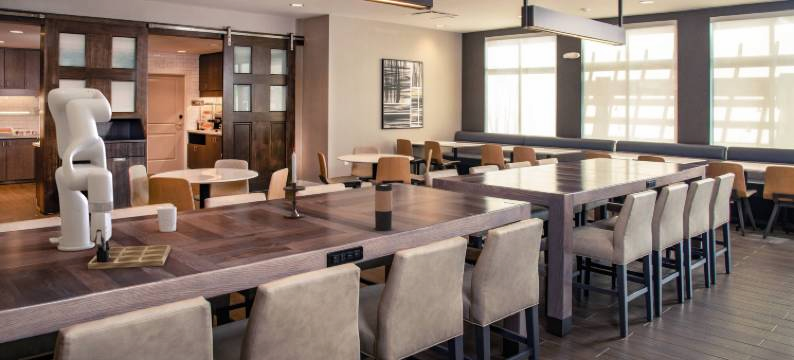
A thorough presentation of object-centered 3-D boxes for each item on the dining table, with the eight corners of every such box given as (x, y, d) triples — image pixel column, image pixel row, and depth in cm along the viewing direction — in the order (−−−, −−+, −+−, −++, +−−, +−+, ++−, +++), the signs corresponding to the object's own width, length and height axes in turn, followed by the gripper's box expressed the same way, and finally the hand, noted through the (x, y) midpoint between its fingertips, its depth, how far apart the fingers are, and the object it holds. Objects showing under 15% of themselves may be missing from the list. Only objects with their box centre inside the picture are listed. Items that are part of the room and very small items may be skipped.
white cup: (156, 232, 265) (155, 209, 264) (159, 229, 273) (158, 206, 272) (175, 232, 267) (175, 209, 265) (178, 228, 274) (177, 205, 273)
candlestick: (310, 216, 306) (309, 144, 302) (295, 219, 297) (294, 146, 293) (293, 214, 312) (292, 143, 307) (278, 217, 303) (277, 145, 298)
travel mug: (378, 231, 273) (378, 186, 270) (372, 228, 280) (372, 183, 277) (394, 230, 275) (395, 185, 273) (388, 227, 282) (388, 183, 280)
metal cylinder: (95, 262, 210) (95, 252, 210) (98, 259, 214) (98, 249, 214) (108, 261, 211) (108, 251, 211) (111, 258, 215) (110, 248, 215)
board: (87, 269, 208) (87, 264, 207) (102, 252, 230) (102, 247, 230) (163, 265, 213) (162, 260, 213) (170, 249, 236) (170, 244, 236)
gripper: (94, 203, 217) (97, 254, 220) (82, 212, 201) (85, 267, 204) (117, 202, 219) (120, 253, 222) (108, 211, 203) (110, 266, 206)
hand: (103, 259), depth 213 cm, fingers closed on metal cylinder, 4 cm apart
